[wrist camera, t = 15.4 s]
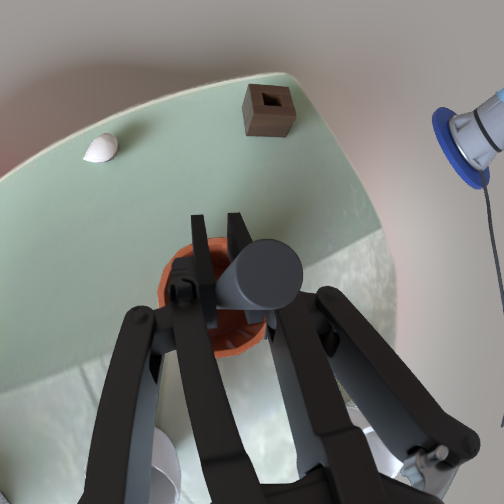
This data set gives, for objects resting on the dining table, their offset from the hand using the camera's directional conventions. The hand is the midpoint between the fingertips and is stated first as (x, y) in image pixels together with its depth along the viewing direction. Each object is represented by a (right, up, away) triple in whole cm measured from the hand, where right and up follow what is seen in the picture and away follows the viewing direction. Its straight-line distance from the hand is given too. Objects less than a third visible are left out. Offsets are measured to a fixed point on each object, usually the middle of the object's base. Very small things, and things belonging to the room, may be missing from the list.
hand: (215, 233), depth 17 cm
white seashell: (-17, +11, +13) cm, 25 cm away
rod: (-1, -5, +6) cm, 8 cm away
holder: (+4, +17, +19) cm, 26 cm away
